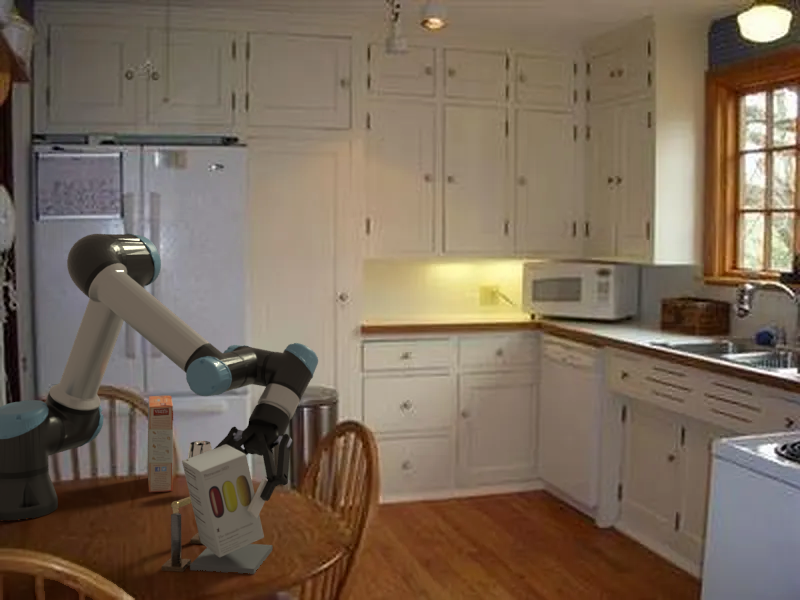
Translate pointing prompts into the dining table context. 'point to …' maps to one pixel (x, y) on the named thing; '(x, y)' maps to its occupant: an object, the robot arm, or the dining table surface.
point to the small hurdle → (178, 539)
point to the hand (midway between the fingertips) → (224, 509)
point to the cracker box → (160, 443)
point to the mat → (233, 559)
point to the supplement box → (222, 499)
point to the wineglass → (198, 448)
